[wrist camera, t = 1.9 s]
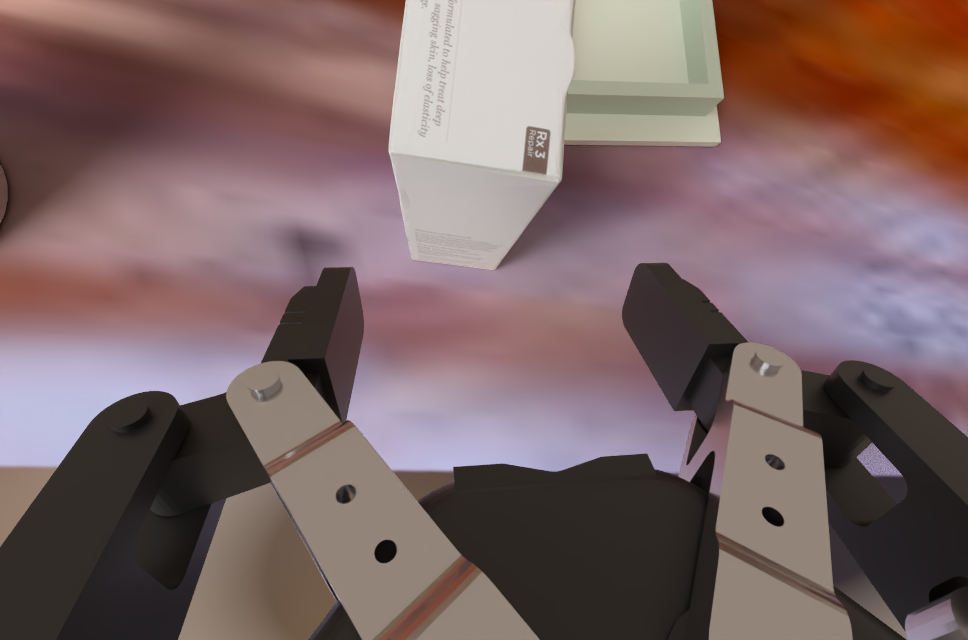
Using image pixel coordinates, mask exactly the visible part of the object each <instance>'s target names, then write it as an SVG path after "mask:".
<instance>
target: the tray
mask: <svg viewBox="0 0 968 640" xmlns="http://www.w3.org/2000/svg"><path fill="white" fill-rule="evenodd" d="M572 40H573V44H574V48H575V71H574V75H573V79H572V81H571V83H570V86H569V89H568V98H567V110H566V122H565V136H564V145H629V146H713V147H716V146H717V145H718V144H719V143H720V142H721V138H720V129H719V121H718V113H717V104H718V103H719V102H720V101H722V100H723V99H724V93H723V85H722V77H721V69H720V60H719V52H718V44H717V36H716V28H715V19H714V11H713V3H712V0H576V3H575V10H574V24H573V36H572Z"/></svg>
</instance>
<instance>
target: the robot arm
mask: <svg viewBox="0 0 968 640" xmlns="http://www.w3.org/2000/svg"><path fill="white" fill-rule="evenodd" d="M7 201H8V189H7V181H6V177H5V174H4V171H3V168H2V167H1V165H0V223H1V221H2V219H3V217H4V214H5V210H6V205H7ZM718 311H719V310H718V309H717V308H716V307H715V306H714V304H713V303H710V300H709V299H708V298H707V297H706V296H705V295H704V294H703V293H702V291H701V290H700V289H698V288H697V287H695V286H693V285H692V284H690V283H689V282H687V281H685V280H684V279H681V277H680V276H679V275H678V274H677V273H676V272H675V271H674V270H673V269H672V267H671V266H670V265H669V264H667V263H641V264H639V265H638V266H637V267H636V269H635V271H634V274H633V277H632V280H631V283H630V286H629V289H628V293H627V296H626V299H625V302H624V305H623V310H622V319H623V324H624V326H625V328H626V330H627V332H628V333H629V335H630V337H631V339H632V340H633V342H634V344H635V345H636V347H637V349H638V350H639V352H640V354H641V356H642V357H643V359H644V361H645V362H646V364H647V366H648V367H649V369H650V371H651V373H652V374H653V376H654V378H655V379H656V381H657V383H658V384H659V386H660V388H661V389H662V391H663V393H664V395H665V396H666V398H667V400H668V401H669V403H670V405H671V406H672V408H673V410H674V411H685V410H694V412H695V413H696V416H695V418H694V420H693V421H692V424H691V427H690V431H689V435H688V440H687V444H686V448H685V452H684V456H683V460H682V464H681V468H680V472H679V476H675V475H673V474H670V473H667V472H663V471H660V470H655V469H654V467H653V465H652V463H651V461H650V459H649V457H648V455H647V454H636V455H621V456H607V457H600V458H597V459H594V460H591V461H588V462H585V463H582V464H579V465H576V466H574V467H571V468H568V469H565V470H562V471H558V472H550V471H544V470H538V469H532V468H526V467H520V466H514V465H508V464H491V465H477V466H462V467H453V470H454V482H453V483H450V484H447V485H445V486H442V487H440V488H438V489H436V490H434V491H432V492H430V493H429V494H427V495H425V496H424V497H422V498H421V499H420V500H418V501H416V499H415V498H414V497H413V496H412V494H411V493H410V492H409V491H408V489H407V488H406V487H405V486H404V485H403V483H402V482H401V481H400V480H399V478H398V477H397V476H396V475H395V474H394V472H393V471H392V470H391V469H390V467H389V466H388V465H387V464H386V463H385V461H384V460H383V459H382V458H381V456H380V455H379V454H378V453H377V452H376V450H375V449H374V448H373V447H372V445H371V444H370V443H369V442H368V440H367V439H366V438H365V437H364V436H363V434H362V433H361V432H360V431H359V429H358V428H357V427H356V426H355V425H354V424H353V423H352V422H351V421H349V420H347V421H346V418H347V413H348V408H349V403H350V398H351V393H352V388H353V383H354V378H355V373H356V368H357V363H358V358H359V353H360V348H361V343H362V338H363V332H364V319H363V311H362V305H361V300H360V294H359V288H358V283H357V277H356V273H355V270H354V268H353V267H339V268H324V269H323V271H322V273H321V276H320V278H319V281H318V283H317V286H307V287H303V288H302V289H301V290H300V291H299V292H298V293H296V294H295V295H294V296H293V297H292V298H291V299H290V301H289V304H288V306H287V308H286V310H285V314H283V317H282V319H281V321H280V325H278V327H277V330H276V332H275V334H274V336H273V338H272V340H271V342H270V345H269V347H268V349H267V351H266V353H265V355H264V358H263V360H262V362H261V364H258V365H255V366H253V367H251V368H249V369H247V370H245V371H244V372H242V373H241V374H239V375H238V376H237V377H236V378H235V379H234V380H233V381H232V383H231V384H230V385H229V387H228V390H227V392H226V393H224V394H220V395H217V396H214V397H210V398H206V399H203V400H199V401H195V402H192V403H188V404H184V405H181V406H180V405H179V403H178V402H177V400H176V399H175V398H174V397H173V396H172V395H171V394H169V393H166V392H161V391H149V392H142V393H138V394H135V395H132V396H129V397H126V398H124V399H121V400H119V401H117V402H116V403H114V404H112V405H110V406H109V407H107V408H106V409H104V410H103V411H102V412H100V413H99V414H98V415H97V416H96V417H95V418H94V419H93V420H92V421H91V422H90V424H89V425H88V426H87V428H86V429H85V430H84V432H83V433H82V435H81V436H80V437H79V439H78V440H77V442H76V443H75V444H74V446H73V447H72V449H71V450H70V451H69V453H68V454H67V455H66V457H65V458H64V460H63V461H62V462H61V464H60V465H59V467H58V468H57V469H56V471H55V472H54V473H53V475H52V476H51V478H50V479H49V481H48V482H47V483H46V485H45V486H44V487H43V489H42V490H41V492H40V493H39V494H38V496H37V497H36V499H35V500H34V501H33V503H32V504H31V505H30V507H29V508H28V510H27V511H26V512H25V514H24V515H23V516H22V518H21V519H20V521H19V522H18V523H17V525H16V526H15V528H14V529H13V530H12V532H11V533H10V534H9V536H8V537H7V539H6V540H5V541H4V543H3V544H2V546H1V547H0V640H178V638H179V635H180V632H181V629H182V626H183V623H184V620H185V617H186V614H187V611H188V609H189V606H190V603H191V600H192V597H193V594H194V591H195V588H196V585H197V582H198V579H199V576H200V574H201V571H202V568H203V565H204V562H205V559H206V556H207V553H208V550H209V547H210V544H211V541H212V538H213V535H214V532H215V530H216V527H217V524H218V521H219V518H220V515H221V512H222V509H223V506H224V503H225V500H226V498H228V497H231V496H234V495H237V494H240V493H242V492H245V491H248V490H251V489H254V488H256V487H259V486H262V485H265V484H267V483H271V484H272V486H273V488H274V490H275V492H276V493H277V495H278V497H279V499H280V501H281V502H282V504H283V506H284V508H285V510H286V511H287V513H288V515H289V516H290V518H291V520H292V522H293V524H294V526H295V527H296V529H297V531H298V533H299V535H300V536H301V538H302V540H303V542H304V543H305V545H306V547H307V549H308V551H309V553H310V554H311V556H312V558H313V560H314V562H315V564H316V565H317V567H318V569H319V571H320V573H321V575H322V576H323V578H324V580H325V582H326V584H327V585H328V587H329V589H330V591H331V592H332V594H333V596H334V598H335V600H336V601H337V602H336V604H335V605H334V606H333V607H332V609H331V610H330V611H329V613H328V614H327V616H326V617H325V618H324V619H323V621H322V622H321V624H320V625H319V626H318V627H317V629H316V630H315V631H314V633H313V634H312V635H311V637H310V638H309V640H906V639H905V638H903V637H902V636H901V635H899V634H898V633H897V632H895V631H894V630H893V629H891V628H890V627H888V626H887V625H886V624H885V623H883V622H882V621H880V620H879V619H878V618H876V617H875V616H874V615H872V614H871V613H870V612H868V611H867V610H866V609H864V608H863V607H862V606H860V605H859V604H858V603H856V602H855V601H853V600H852V599H851V598H849V597H848V596H847V595H845V594H844V593H843V592H841V591H840V590H838V589H837V588H836V587H835V586H833V581H832V567H831V553H830V540H829V526H828V522H829V523H830V525H831V526H832V527H833V529H834V530H835V532H836V533H837V535H838V536H839V537H840V539H841V540H842V542H843V543H844V544H845V546H846V547H847V549H848V550H849V552H850V553H851V554H852V556H853V557H854V559H855V560H856V562H857V563H858V565H859V566H860V567H861V569H862V570H863V571H864V573H865V575H866V576H867V577H868V579H869V580H870V582H871V583H872V585H873V586H874V587H875V589H876V590H877V591H878V593H879V595H880V596H881V597H882V599H883V600H884V601H885V603H886V604H887V606H888V607H889V609H890V610H891V612H892V613H893V614H894V616H895V617H896V619H897V620H898V621H899V623H900V624H901V626H902V627H903V629H904V630H905V632H906V635H907V638H908V640H968V437H967V436H966V435H964V434H963V433H962V432H961V431H960V430H959V429H958V428H956V427H955V426H954V425H953V424H952V423H951V422H949V421H948V420H947V419H946V418H945V417H944V416H943V415H941V414H940V413H939V412H938V411H937V410H936V409H934V408H933V407H932V406H931V405H930V404H929V403H928V402H926V401H925V400H924V399H923V398H922V397H921V396H920V395H918V394H917V393H916V392H915V391H914V390H913V389H911V388H910V387H909V386H908V385H907V384H906V383H905V382H903V381H902V380H901V379H899V378H898V377H896V376H895V375H893V374H892V373H890V372H888V371H886V370H884V369H882V368H880V367H877V366H875V365H872V364H869V363H865V362H860V361H844V362H842V363H840V364H839V365H838V367H837V368H836V369H835V370H834V371H833V373H832V374H831V375H830V376H829V375H824V374H818V373H813V372H807V371H802V370H800V368H799V366H798V365H797V364H796V363H795V362H794V361H793V360H792V359H791V358H790V357H789V356H787V355H786V354H784V353H783V352H781V351H779V350H777V349H775V348H773V347H770V346H767V345H764V344H760V343H753V342H748V341H747V340H746V339H745V338H744V337H743V336H742V335H741V334H740V333H739V332H738V331H737V329H736V328H735V327H734V326H733V325H732V324H731V323H730V322H729V321H728V320H727V319H726V317H725V316H724V315H723V314H722V313H719V312H718ZM872 442H873V444H874V445H875V446H876V447H877V448H878V449H879V450H880V451H881V452H882V453H883V454H884V455H885V457H886V458H887V459H888V460H889V461H890V462H891V463H892V464H893V465H894V466H895V467H896V468H897V470H898V471H899V472H900V473H901V474H902V475H903V477H904V479H905V481H906V483H907V487H908V493H907V496H906V498H905V499H904V500H903V501H902V502H900V503H899V504H896V503H895V502H894V501H893V500H892V498H891V497H890V496H889V495H888V494H887V493H886V491H885V490H884V489H883V488H882V487H881V486H880V485H879V483H878V482H877V481H876V480H875V479H874V477H873V476H872V475H871V474H870V473H869V472H868V470H867V469H866V468H865V467H864V466H863V465H862V464H861V462H860V461H859V460H858V459H857V458H856V457H857V456H858V455H859V454H860V453H861V452H862V451H863V450H864V449H866V448H867V447H868V446H869V445H870V444H871V443H872Z"/></svg>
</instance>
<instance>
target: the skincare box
mask: <svg viewBox="0 0 968 640" xmlns="http://www.w3.org/2000/svg"><path fill="white" fill-rule="evenodd" d="M575 3H576V0H406V3H405V11H404V18H403V26H402V34H401V41H400V49H399V59H398V68H397V76H396V84H395V91H394V99H393V107H392V117H391V127H390V137H389V154H390V158H391V161H392V166H393V171H394V176H395V180H396V184H397V188H398V192H399V197H400V204H401V211H402V216H403V221H404V225H405V230H406V235H407V240H408V245H409V250H410V254H411V258H412V260H417V261H426V262H434V263H442V264H450V265H458V266H466V267H473V268H481V269H488V270H496V268H497V266H498V265H499V264H500V262H501V261H502V260H503V258H504V257H505V255H506V254H507V253H508V251H509V250H510V249H511V247H512V246H513V245H514V243H515V242H516V241H517V239H518V238H519V237H520V235H521V234H522V233H523V231H524V230H525V228H526V227H527V226H528V225H529V223H530V222H531V221H532V219H533V218H534V216H535V215H536V214H537V212H538V211H539V210H540V208H541V207H542V206H543V204H544V203H545V202H546V200H547V199H548V198H549V196H550V195H551V193H552V192H553V191H554V189H555V188H556V187H557V186H558V184H559V183H560V182H561V180H562V171H563V155H564V136H565V122H566V110H567V98H568V89H569V86H570V83H571V81H572V79H573V75H574V71H575V48H574V44H573V40H572V36H573V24H574V10H575Z"/></svg>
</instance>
